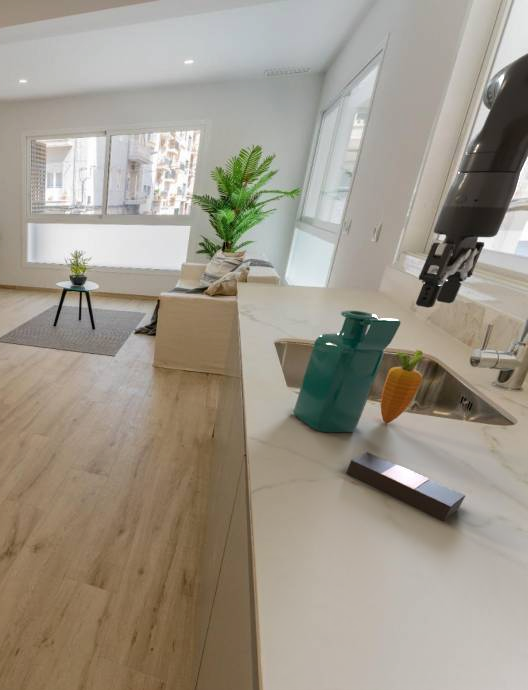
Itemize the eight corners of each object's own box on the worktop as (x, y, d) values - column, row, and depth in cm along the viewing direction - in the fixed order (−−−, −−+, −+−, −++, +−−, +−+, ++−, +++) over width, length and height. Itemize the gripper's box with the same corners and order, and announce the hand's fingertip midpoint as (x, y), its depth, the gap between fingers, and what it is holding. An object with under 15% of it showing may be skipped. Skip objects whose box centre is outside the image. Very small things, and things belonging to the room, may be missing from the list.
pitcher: (288, 411, 86) (320, 305, 77) (327, 411, 86) (364, 306, 78) (322, 437, 77) (363, 320, 68) (366, 437, 77) (412, 320, 69)
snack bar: (362, 464, 69) (367, 451, 68) (458, 509, 60) (466, 494, 59) (345, 473, 67) (351, 459, 66) (443, 521, 57) (451, 506, 56)
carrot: (377, 427, 81) (407, 353, 75) (365, 415, 85) (391, 344, 80) (407, 431, 80) (439, 356, 74) (393, 418, 84) (422, 347, 79)
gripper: (491, 204, 61) (445, 313, 67) (523, 206, 68) (478, 305, 74) (426, 202, 67) (389, 303, 73) (461, 204, 74) (425, 296, 80)
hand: (434, 304), depth 74 cm, fingers open, 8 cm apart
